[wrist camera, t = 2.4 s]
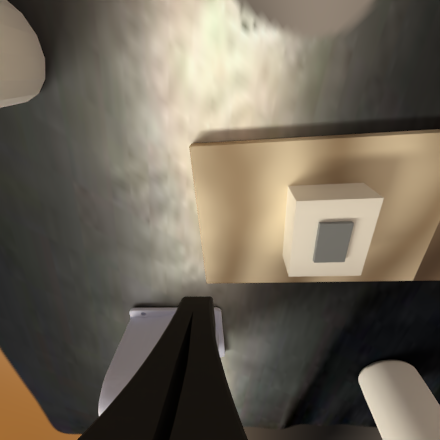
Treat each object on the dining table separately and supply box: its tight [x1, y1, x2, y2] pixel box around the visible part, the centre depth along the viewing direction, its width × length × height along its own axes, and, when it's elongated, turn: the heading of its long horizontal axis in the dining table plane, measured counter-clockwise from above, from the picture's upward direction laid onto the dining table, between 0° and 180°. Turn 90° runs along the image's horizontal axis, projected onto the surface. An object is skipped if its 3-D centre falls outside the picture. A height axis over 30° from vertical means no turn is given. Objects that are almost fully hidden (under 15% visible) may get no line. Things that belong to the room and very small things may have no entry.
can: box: [358, 359, 440, 440], centre depth 23 cm, size 6×6×12 cm
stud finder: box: [282, 183, 384, 277], centre depth 16 cm, size 5×6×3 cm
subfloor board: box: [189, 129, 440, 283], centre depth 18 cm, size 26×12×1 cm, turn 94°
